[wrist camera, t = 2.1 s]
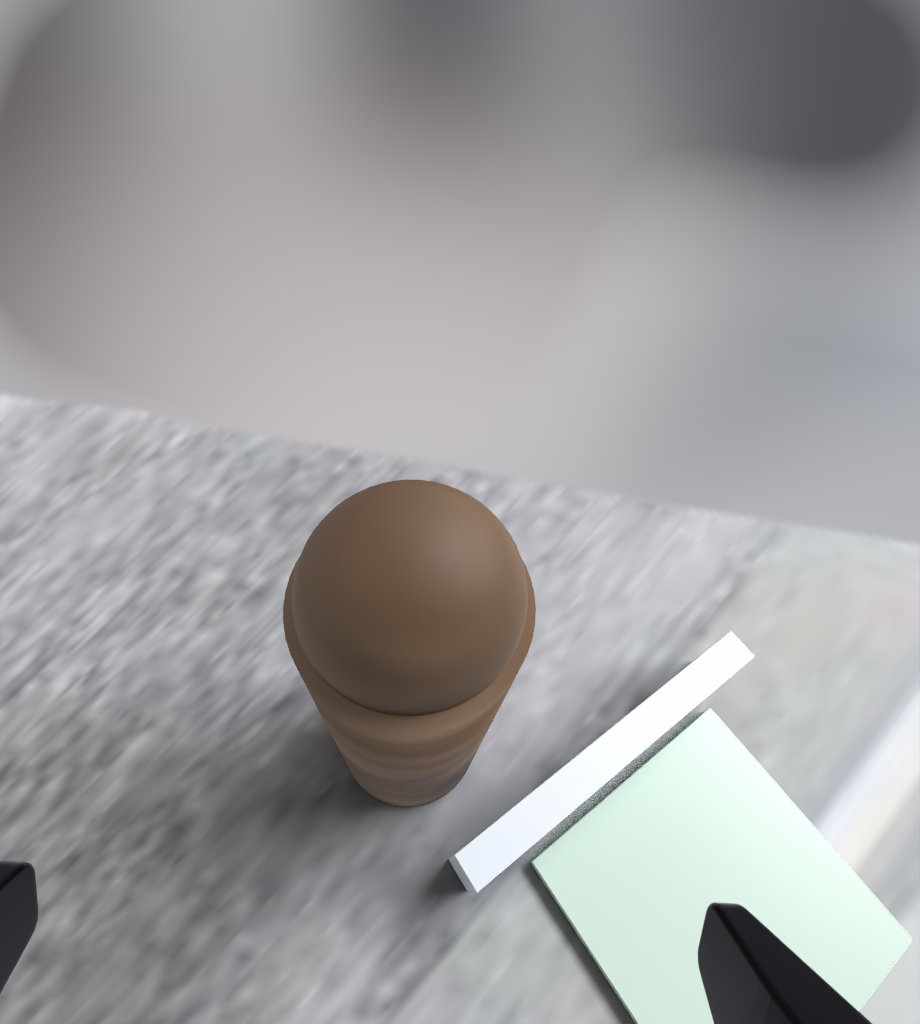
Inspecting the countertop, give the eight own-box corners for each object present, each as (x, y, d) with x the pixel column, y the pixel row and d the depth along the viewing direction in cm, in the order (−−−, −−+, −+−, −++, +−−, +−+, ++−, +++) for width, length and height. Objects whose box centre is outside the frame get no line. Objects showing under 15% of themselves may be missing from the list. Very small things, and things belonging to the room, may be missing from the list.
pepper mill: (387, 838, 18) (354, 765, 7) (319, 715, 20) (204, 498, 9) (501, 751, 20) (625, 578, 8) (428, 645, 21) (450, 385, 10)
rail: (467, 891, 17) (477, 892, 15) (448, 858, 18) (454, 855, 15) (713, 683, 21) (754, 656, 19) (693, 660, 22) (731, 631, 19)
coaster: (728, 1167, 15) (736, 1173, 14) (530, 862, 18) (532, 861, 18) (903, 938, 18) (913, 939, 17) (705, 710, 21) (710, 707, 20)
